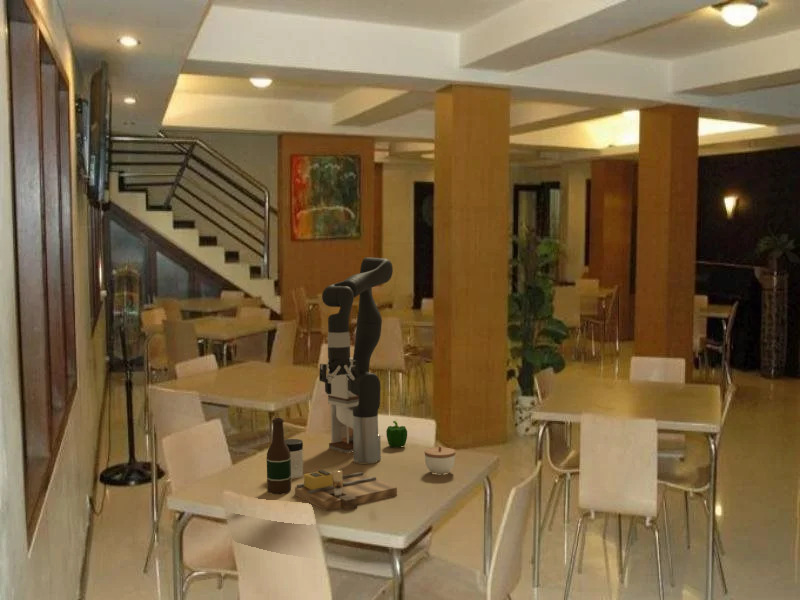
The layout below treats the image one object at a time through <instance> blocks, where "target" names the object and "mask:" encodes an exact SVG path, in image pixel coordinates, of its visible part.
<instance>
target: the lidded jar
mask: <svg viewBox="0 0 800 600" xmlns="http://www.w3.org/2000/svg"><path fill="white" fill-rule="evenodd" d="M424 460H425V466H426V467H427V469H428V471H429V472H430V473H431V472H432V473H437V474H444V473H448V472H449V473H450V472H451V471H452V470H453V468H454V466H455V461H456V450H455V449H453V448H449V447H442V445H440V446H439V445H438V446H437V447H431V448H427V449H425V450H424ZM432 473H431V474H432ZM449 473H448V474H449Z"/></svg>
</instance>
